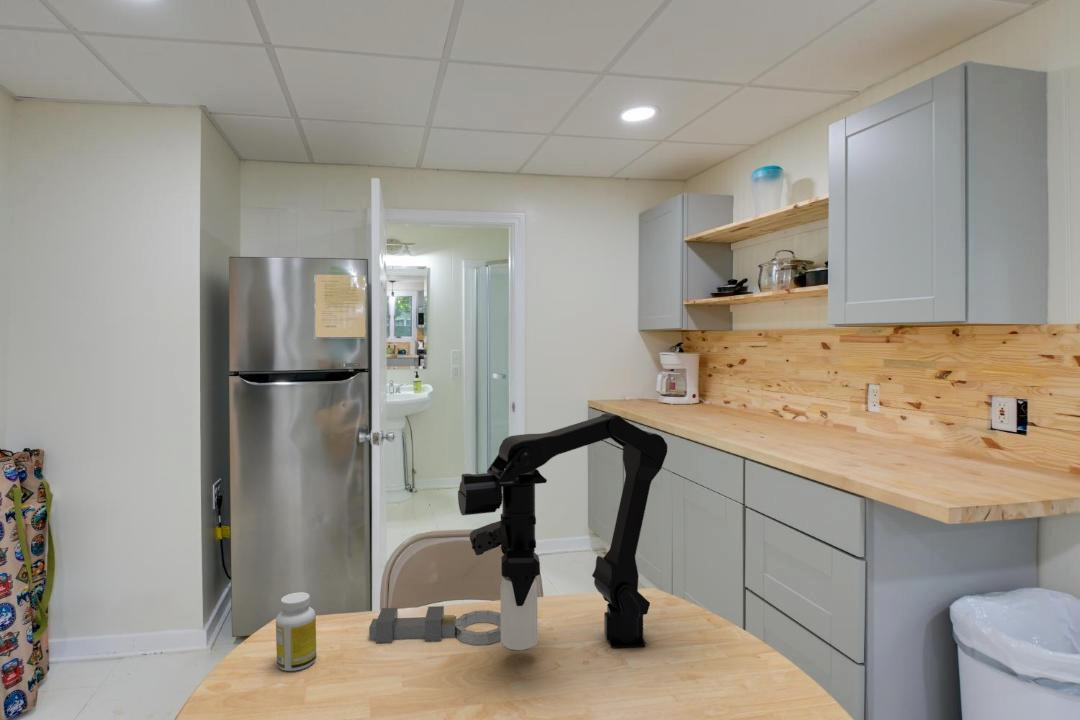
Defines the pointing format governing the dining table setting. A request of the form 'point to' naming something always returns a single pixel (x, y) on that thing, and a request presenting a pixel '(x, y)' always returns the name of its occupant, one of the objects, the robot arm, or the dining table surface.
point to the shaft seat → (434, 626)
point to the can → (518, 618)
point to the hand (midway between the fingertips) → (519, 597)
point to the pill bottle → (296, 632)
